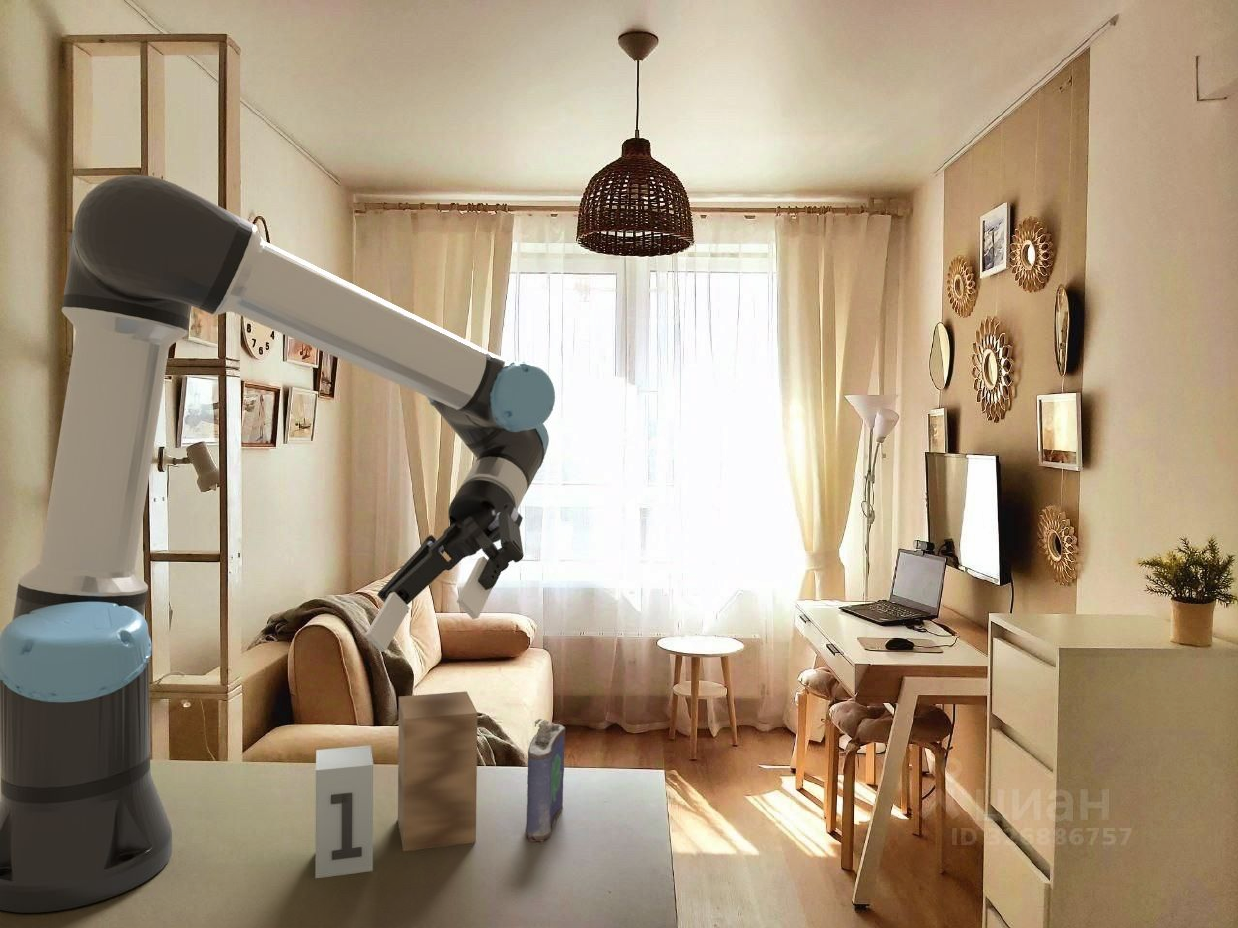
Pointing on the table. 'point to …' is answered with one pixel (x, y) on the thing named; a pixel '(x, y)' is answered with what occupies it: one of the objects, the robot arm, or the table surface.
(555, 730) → the flask
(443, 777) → the plain block
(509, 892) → the table surface
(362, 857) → the number block
